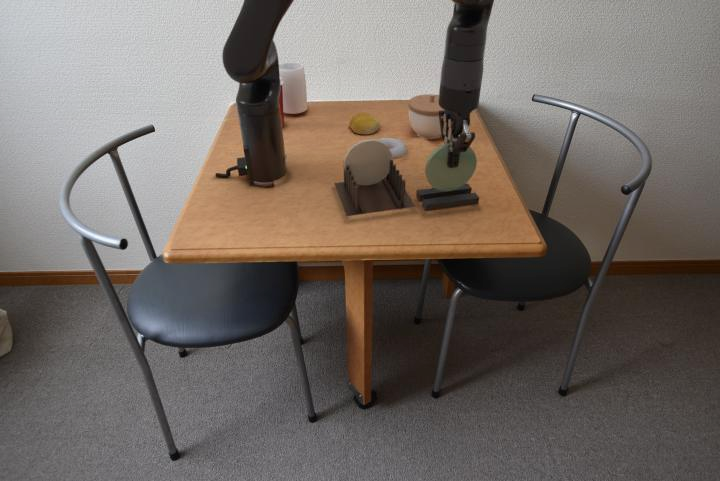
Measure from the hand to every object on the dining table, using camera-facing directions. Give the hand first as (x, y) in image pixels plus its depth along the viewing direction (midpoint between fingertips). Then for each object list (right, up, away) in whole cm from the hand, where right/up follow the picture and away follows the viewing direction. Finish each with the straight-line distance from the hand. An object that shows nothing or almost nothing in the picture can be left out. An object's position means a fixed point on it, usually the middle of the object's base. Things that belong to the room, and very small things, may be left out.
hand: (451, 165), depth 98 cm
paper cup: (-44, +18, +41) cm, 62 cm away
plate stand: (0, -8, +6) cm, 10 cm away
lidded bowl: (+1, +14, +36) cm, 38 cm away
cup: (-39, +24, +49) cm, 67 cm away
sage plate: (0, -5, +4) cm, 6 cm away
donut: (-12, +6, +25) cm, 29 cm away
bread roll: (-18, +16, +39) cm, 46 cm away
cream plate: (-17, -3, +11) cm, 20 cm away
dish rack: (-16, -7, +8) cm, 19 cm away
